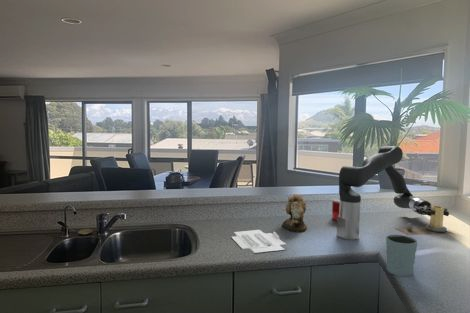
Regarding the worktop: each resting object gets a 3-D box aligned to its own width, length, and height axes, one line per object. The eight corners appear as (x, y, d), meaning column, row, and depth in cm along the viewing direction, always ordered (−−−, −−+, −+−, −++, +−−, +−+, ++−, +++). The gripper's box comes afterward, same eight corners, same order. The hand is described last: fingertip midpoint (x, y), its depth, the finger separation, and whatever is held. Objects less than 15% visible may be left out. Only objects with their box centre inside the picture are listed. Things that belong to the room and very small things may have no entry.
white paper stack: (247, 256, 137) (247, 247, 137) (226, 236, 163) (226, 229, 163) (292, 251, 143) (292, 242, 143) (265, 233, 170) (266, 225, 169)
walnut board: (406, 237, 160) (407, 227, 159) (393, 230, 171) (393, 220, 170) (453, 236, 163) (454, 226, 162) (437, 229, 174) (437, 219, 173)
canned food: (341, 222, 184) (342, 202, 183) (329, 219, 190) (329, 199, 189) (349, 220, 189) (350, 200, 188) (336, 216, 195) (337, 198, 194)
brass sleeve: (437, 229, 164) (438, 208, 163) (427, 226, 169) (428, 206, 168) (444, 228, 166) (446, 207, 165) (434, 225, 171) (436, 205, 170)
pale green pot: (384, 274, 120) (386, 241, 119) (383, 263, 130) (385, 232, 128) (417, 279, 117) (419, 245, 115) (413, 267, 126) (415, 236, 125)
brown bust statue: (278, 222, 183) (278, 190, 181) (299, 221, 184) (300, 190, 183) (288, 232, 165) (289, 198, 163) (311, 232, 167) (312, 197, 165)
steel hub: (437, 233, 162) (438, 221, 161) (421, 228, 170) (421, 216, 169) (450, 231, 165) (451, 219, 164) (433, 226, 173) (434, 215, 173)
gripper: (407, 199, 180) (425, 206, 164) (433, 199, 181) (454, 206, 165) (406, 212, 181) (424, 221, 165) (432, 213, 182) (453, 221, 165)
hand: (439, 214), depth 165 cm, fingers open, 8 cm apart
